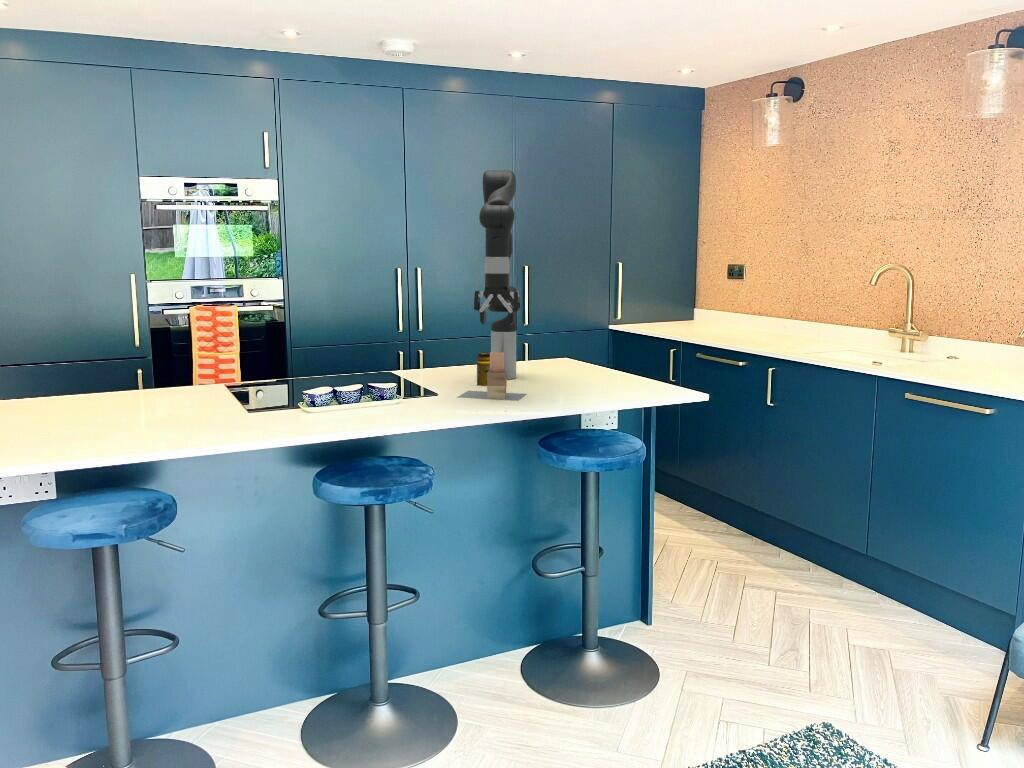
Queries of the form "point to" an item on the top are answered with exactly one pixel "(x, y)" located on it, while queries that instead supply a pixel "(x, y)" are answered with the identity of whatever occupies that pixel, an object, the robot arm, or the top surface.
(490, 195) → the robot arm
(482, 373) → the condiment
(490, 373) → the block top
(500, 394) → the block base
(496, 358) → the pink cylinder
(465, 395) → the board
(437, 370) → the top surface
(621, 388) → the top surface
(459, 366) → the top surface
